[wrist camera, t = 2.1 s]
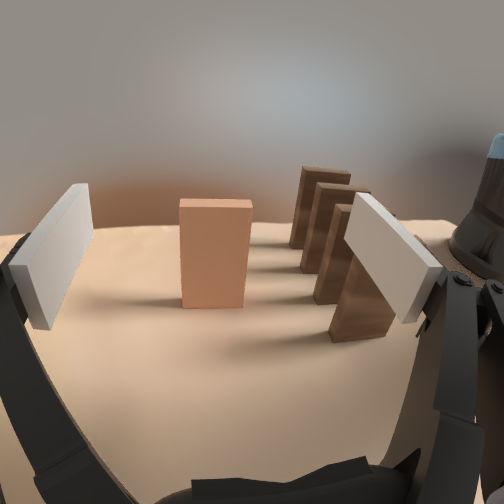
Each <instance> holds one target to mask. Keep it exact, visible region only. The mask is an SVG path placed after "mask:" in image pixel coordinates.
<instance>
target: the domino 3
mask: <svg viewBox="0 0 504 504" xmlns="http://www.w3.org/2000/svg"><path fill="white" fill-rule="evenodd" d="M356 192H360V193H369V194H371V192H370V191H369V190H368V189H367V188H366V187H364V186H354V185H343V184H332V183H319V182H317V184H316V190H315V195H314V200H313V205H312V210H311V215H310V220H309V225H308V230H307V235H306V240H305V245H304V249H303V254H302V259H301V263H300V268H301V270H302V272H303V274H318V273H319V270H320V266H321V262H322V258H323V254H324V250H325V246H326V242H327V238H328V234H329V229H330V225H331V221H332V217H333V212H334V208H335V204H348V205H353V202H354V198H355V194H356Z"/></svg>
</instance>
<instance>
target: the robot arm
mask: <svg viewBox="0 0 504 504" xmlns="http://www.w3.org/2000/svg"><path fill="white" fill-rule="evenodd" d="M487 157H488V159H487V163H486V167H485V170H484V173H483V176H482V179H481V182H480V186H479V189H478V191H477V195H476V197H475V200H474V203H473V206H472V208H471V210H470V211H469V212H468V214H467V215H466V216H465V218H464V219H463V221H462V222H461V223H460V224H459V226H458V227H457V228H456V229H455V230H454V232H453V234H452V236H451V239H450V241H449V247H450V250H451V252H452V253H453V254H454V256H455V257H456V258H457V259H458V260H459V261H460V262H461V263H462V264H463V265H464V266H466V267H467V268H468V269H470V270H471V271H472V272H474V273H476V274H477V275H479V276H481V277H483V278H485V279H487V280H486V282H485V284H484V286H483V288H478V287H475V286H474V283H473V282H472V281H471V279H470V278H468V277H467V276H466V275H464V274H462V273H460V272H457V271H450V272H449V271H448V270H447V269H446V268H445V267H444V266H443V265H442V263H441V262H440V261H439V260H438V259H437V258H436V257H434V255H433V254H432V253H431V252H429V250H428V249H427V248H426V247H425V246H424V245H423V244H422V243H421V242H419V241H418V240H417V239H416V238H415V237H414V236H413V235H412V234H411V233H410V232H409V231H408V230H407V229H406V228H405V227H404V226H403V225H402V224H401V223H400V222H399V221H398V220H397V219H396V218H395V217H394V216H393V215H391V214H390V213H389V212H388V211H387V210H386V209H385V208H384V207H383V206H382V205H381V204H380V203H379V202H378V201H376V200H375V199H374V198H373V197H372V196H371V195H370V194H369V193H360V192H356V194H355V198H354V202H353V206H352V210H351V214H350V218H349V221H348V225H347V229H346V233H345V236H344V239H345V241H346V242H347V244H348V245H349V246H350V248H351V249H352V251H353V252H354V253H355V255H356V256H357V258H358V259H359V260H360V262H361V263H362V265H363V266H364V268H365V269H366V271H367V272H368V273H369V275H370V276H371V278H372V279H373V281H374V282H375V284H376V285H377V287H378V288H379V290H380V291H381V293H382V294H383V296H384V297H385V299H386V300H387V302H388V303H389V305H390V306H391V308H392V309H393V311H394V312H395V314H396V315H397V317H398V319H399V320H400V322H401V323H402V324H404V323H412V322H416V321H417V319H418V317H419V315H420V313H421V312H422V311H423V312H424V313H425V315H426V318H425V320H424V322H423V324H422V325H421V327H420V329H419V331H418V333H417V334H416V336H415V337H418V336H419V335H420V339H419V344H418V348H417V353H416V357H415V362H414V366H413V370H412V374H411V378H410V381H409V385H408V389H407V392H406V396H405V399H404V403H403V406H402V409H401V413H400V416H399V419H398V422H397V425H396V428H395V431H394V434H393V437H392V440H391V443H390V445H389V448H388V451H387V453H386V455H385V457H384V459H383V460H382V462H381V463H380V464H379V465H368V462H367V459H366V456H363V457H359V458H355V459H351V460H347V461H343V462H338V463H334V464H329V465H326V466H324V467H322V468H320V469H318V470H316V471H314V472H311V473H309V474H307V475H305V476H302V477H300V478H298V479H295V480H293V481H291V482H287V483H278V482H268V481H258V480H250V479H243V478H226V479H200V480H191V483H192V488H189V489H185V490H181V491H178V492H176V493H173V494H171V495H169V496H166V497H164V498H162V499H161V500H159V501H158V502H156V503H155V504H474V499H475V495H476V490H477V485H478V480H479V474H480V478H481V488H482V495H483V500H484V504H504V286H503V284H504V134H497V135H496V136H495V137H494V139H493V141H492V145H491V148H490V151H489V154H488V155H487ZM93 236H94V231H93V224H92V216H91V209H90V201H89V192H88V184H87V183H84V184H73V185H72V186H71V187H70V188H69V189H68V191H67V192H66V193H65V194H64V195H63V196H62V197H61V198H60V199H59V201H58V202H57V203H56V204H55V205H54V206H53V208H52V209H51V210H50V211H49V212H48V214H47V215H46V216H45V217H44V218H43V220H42V221H41V222H40V223H39V225H38V226H37V227H36V228H35V230H34V231H33V232H32V233H27V234H26V235H25V236H23V237H22V238H20V239H19V240H18V242H17V243H16V244H15V246H14V248H12V249H11V251H10V252H9V254H8V255H7V256H6V257H5V259H4V260H3V262H2V263H1V264H0V396H1V399H2V402H3V404H4V407H5V409H6V412H7V414H8V417H9V419H10V422H11V424H12V426H13V428H14V431H15V433H16V435H17V437H18V439H19V441H20V443H21V446H22V448H23V450H24V452H25V454H26V456H27V457H28V459H29V461H30V463H31V465H32V467H33V469H34V471H35V476H34V478H33V479H34V483H35V485H36V487H37V489H38V491H39V493H40V495H41V496H42V498H43V500H44V501H45V503H46V504H139V503H138V502H137V501H136V500H135V499H134V497H133V496H132V495H131V494H130V493H129V492H128V491H127V490H126V489H125V487H124V486H123V485H122V484H121V483H120V482H119V481H118V479H117V478H116V477H115V476H114V474H113V473H112V472H111V471H110V469H109V468H108V467H107V466H106V464H105V463H104V462H103V460H102V459H101V458H100V456H99V455H98V454H97V452H96V451H95V450H94V448H93V447H92V445H91V444H90V443H89V441H88V440H87V438H86V437H85V435H84V434H83V432H82V431H81V429H80V428H79V426H78V425H77V423H76V422H75V420H74V419H73V417H72V415H71V414H70V412H69V411H68V409H67V407H66V406H65V404H64V402H63V401H62V399H61V397H60V396H59V394H58V392H57V390H56V389H55V387H54V385H53V383H52V381H51V380H50V378H49V376H48V374H47V372H46V370H45V368H44V366H43V364H42V362H41V360H40V358H39V356H38V354H37V352H36V350H35V348H34V346H33V344H32V341H31V339H30V337H29V335H28V333H27V330H26V328H25V326H24V324H25V322H26V320H27V318H29V321H30V323H31V325H32V327H33V329H39V330H49V331H51V328H52V326H53V323H54V321H55V318H56V316H57V313H58V311H59V308H60V306H61V304H62V301H63V299H64V297H65V294H66V292H67V290H68V288H69V285H70V283H71V281H72V279H73V277H74V274H75V272H76V270H77V268H78V266H79V264H80V262H81V260H82V258H83V256H84V254H85V252H86V250H87V248H88V246H89V244H90V242H91V240H92V238H93ZM491 325H492V329H491V332H490V334H489V335H488V333H487V331H488V330H489V328H490V327H491ZM475 416H476V423H475V421H474V420H475ZM0 504H6V503H5V499H4V496H3V492H2V489H1V485H0Z"/></svg>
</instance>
